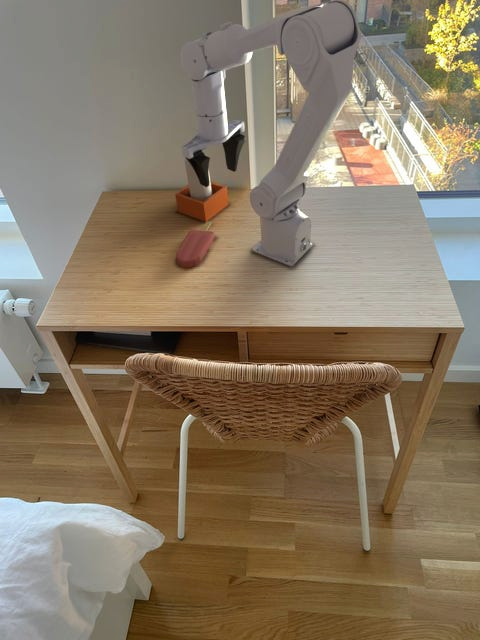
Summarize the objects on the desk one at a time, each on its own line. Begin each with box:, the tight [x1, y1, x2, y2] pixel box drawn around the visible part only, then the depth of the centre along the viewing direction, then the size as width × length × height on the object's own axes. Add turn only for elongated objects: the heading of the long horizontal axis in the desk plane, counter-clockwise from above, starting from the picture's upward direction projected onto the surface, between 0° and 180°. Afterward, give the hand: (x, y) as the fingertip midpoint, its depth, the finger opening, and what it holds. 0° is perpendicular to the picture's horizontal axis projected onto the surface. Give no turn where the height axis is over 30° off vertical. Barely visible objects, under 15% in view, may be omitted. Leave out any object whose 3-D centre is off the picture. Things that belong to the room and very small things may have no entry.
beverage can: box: [184, 151, 212, 202], centre depth 106 cm, size 5×5×12 cm
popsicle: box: [176, 220, 215, 268], centre depth 101 cm, size 5×2×15 cm
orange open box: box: [174, 180, 229, 223], centre depth 109 cm, size 8×8×5 cm
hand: (218, 177), depth 100 cm, fingers open, 7 cm apart
